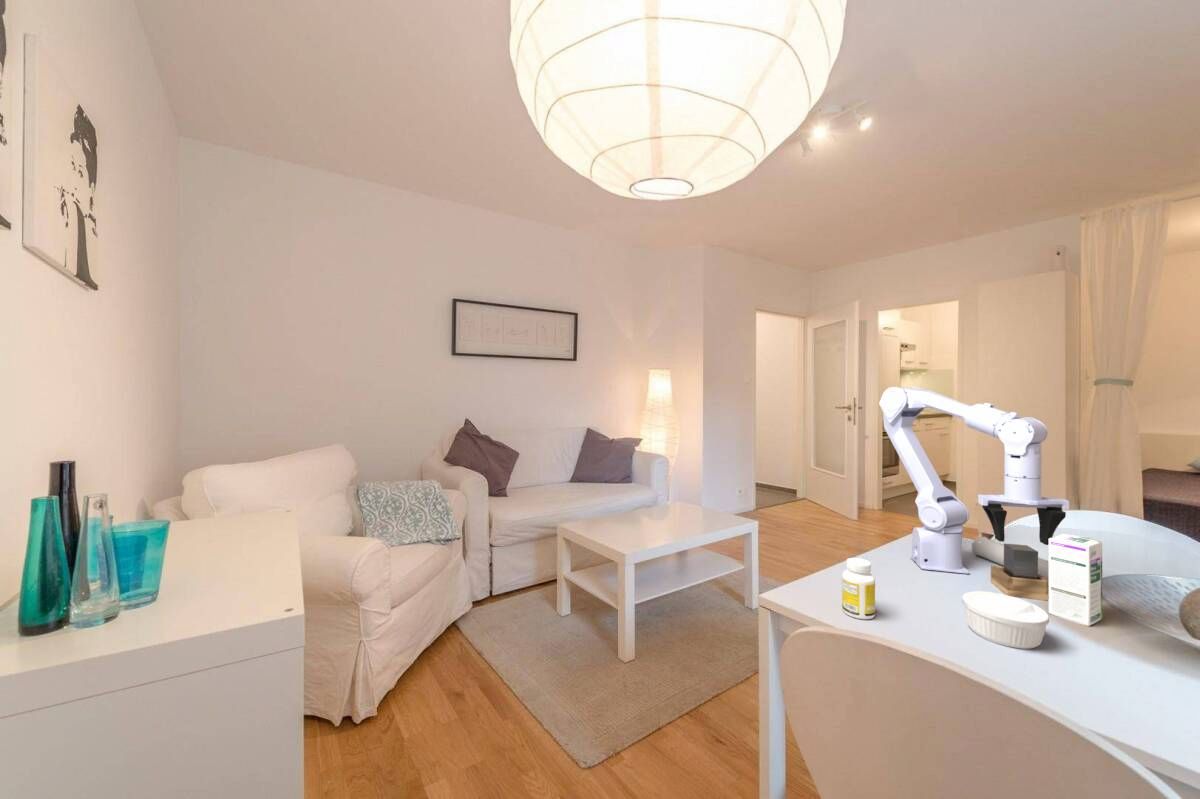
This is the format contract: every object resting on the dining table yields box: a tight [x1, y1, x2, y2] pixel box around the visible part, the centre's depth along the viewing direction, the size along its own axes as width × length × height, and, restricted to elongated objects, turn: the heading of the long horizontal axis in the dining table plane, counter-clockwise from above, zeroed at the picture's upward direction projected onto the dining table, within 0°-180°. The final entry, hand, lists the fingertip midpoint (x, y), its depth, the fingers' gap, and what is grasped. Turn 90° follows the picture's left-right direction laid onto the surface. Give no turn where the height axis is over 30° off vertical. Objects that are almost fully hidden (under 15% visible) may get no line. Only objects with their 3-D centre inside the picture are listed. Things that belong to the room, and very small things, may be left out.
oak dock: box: [990, 565, 1049, 602], centre depth 98 cm, size 7×7×4 cm
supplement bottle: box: [841, 557, 876, 620], centre depth 88 cm, size 5×5×10 cm
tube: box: [971, 536, 1049, 580], centre depth 106 cm, size 5×5×25 cm
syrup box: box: [1048, 533, 1103, 627], centre depth 87 cm, size 6×6×14 cm
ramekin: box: [961, 590, 1050, 650], centre depth 81 cm, size 11×11×5 cm
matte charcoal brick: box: [1003, 543, 1039, 580], centre depth 98 cm, size 4×4×8 cm
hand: (1021, 541), depth 98 cm, fingers open, 7 cm apart
